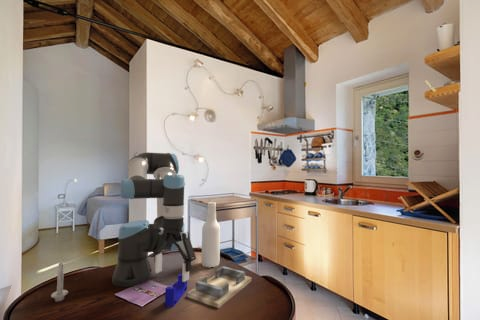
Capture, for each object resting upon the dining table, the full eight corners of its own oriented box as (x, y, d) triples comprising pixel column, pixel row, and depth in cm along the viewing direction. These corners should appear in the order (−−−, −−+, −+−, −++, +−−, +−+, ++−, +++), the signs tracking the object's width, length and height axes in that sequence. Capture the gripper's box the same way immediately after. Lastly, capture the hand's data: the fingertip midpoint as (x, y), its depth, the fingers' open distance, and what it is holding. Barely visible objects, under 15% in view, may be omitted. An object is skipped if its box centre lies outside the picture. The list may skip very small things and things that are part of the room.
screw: (47, 302, 85) (59, 295, 90) (59, 304, 85) (71, 296, 89) (48, 264, 86) (61, 258, 91) (60, 265, 85) (72, 260, 90)
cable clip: (175, 289, 97) (176, 273, 97) (186, 290, 96) (187, 274, 96) (160, 305, 85) (161, 288, 85) (173, 307, 84) (173, 289, 85)
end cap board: (186, 296, 91) (187, 284, 91) (223, 273, 112) (223, 263, 112) (218, 308, 84) (218, 294, 84) (251, 281, 105) (251, 270, 105)
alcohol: (214, 259, 128) (215, 200, 129) (222, 265, 121) (224, 203, 121) (198, 263, 123) (199, 201, 124) (206, 269, 116) (207, 204, 116)
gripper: (141, 214, 95) (139, 272, 94) (192, 222, 82) (191, 288, 81) (157, 212, 101) (155, 265, 100) (206, 218, 89) (205, 280, 88)
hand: (171, 276), depth 91 cm, fingers open, 13 cm apart
